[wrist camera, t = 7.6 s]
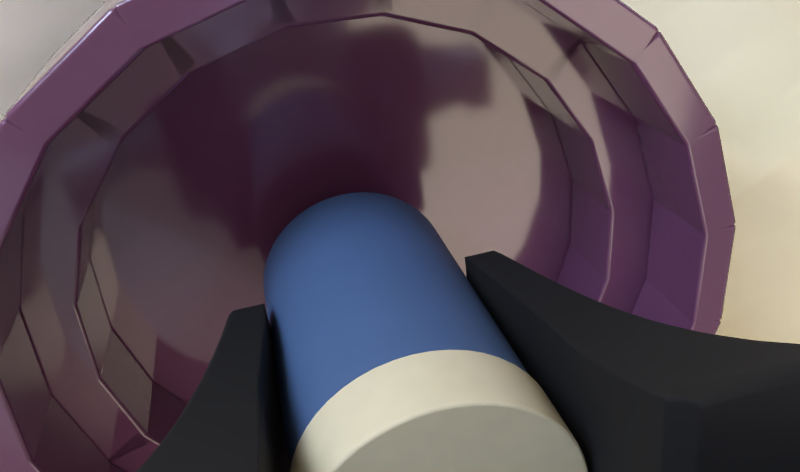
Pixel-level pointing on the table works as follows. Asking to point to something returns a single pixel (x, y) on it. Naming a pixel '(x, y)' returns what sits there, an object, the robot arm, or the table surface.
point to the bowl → (324, 182)
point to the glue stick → (397, 352)
